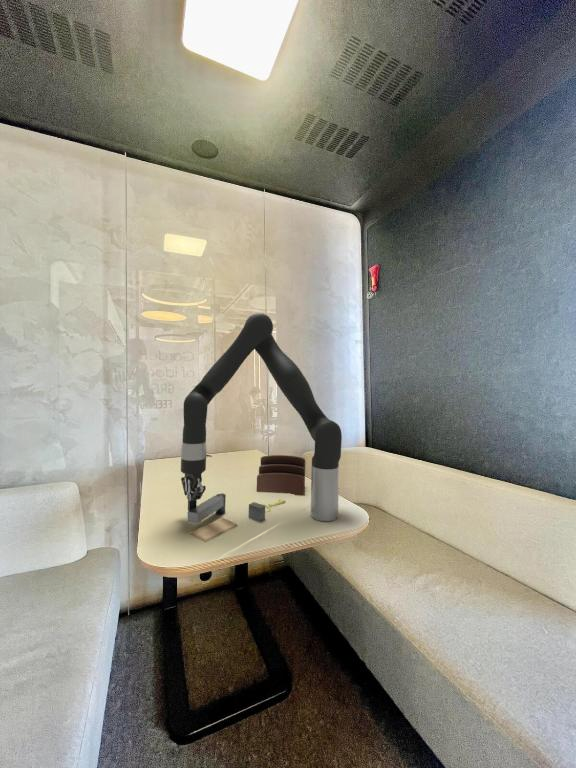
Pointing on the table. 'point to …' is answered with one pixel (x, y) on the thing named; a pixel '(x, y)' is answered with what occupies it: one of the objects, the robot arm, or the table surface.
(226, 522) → the brown rectangular panel
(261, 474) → the letter holder
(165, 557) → the table surface
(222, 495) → the grey handle
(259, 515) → the block
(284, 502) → the key
